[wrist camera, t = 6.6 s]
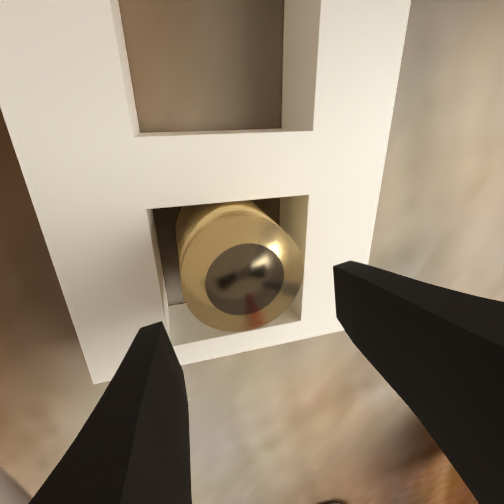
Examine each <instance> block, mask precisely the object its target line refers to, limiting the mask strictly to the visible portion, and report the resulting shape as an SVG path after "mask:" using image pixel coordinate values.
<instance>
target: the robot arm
mask: <svg viewBox="0 0 504 504" xmlns="http://www.w3.org/2000/svg"><path fill="white" fill-rule="evenodd" d="M333 276H334V291H335V306H336V318H337V319H338V321H339V322H340V324H341V325H342V327H343V328H344V330H345V331H346V333H347V334H348V336H349V337H350V339H351V340H352V342H353V343H354V344H355V345H356V347H357V348H358V349H359V350H360V351H361V352H362V354H363V355H364V356H365V357H366V358H367V359H368V361H369V362H370V363H371V364H372V365H373V366H374V367H375V369H376V370H377V371H378V372H379V373H380V374H381V375H382V376H383V378H384V379H385V380H386V381H387V382H388V383H389V384H390V386H391V387H392V388H393V389H394V390H395V391H396V392H397V394H398V395H399V396H400V397H401V398H402V399H403V400H404V402H405V403H406V404H407V405H408V406H409V407H410V409H411V410H412V411H413V412H414V414H415V415H416V416H417V417H418V419H419V420H420V421H421V423H422V424H423V425H424V427H425V428H426V429H427V431H428V432H429V433H430V435H431V436H432V438H433V439H434V440H435V442H436V443H437V444H438V446H439V447H440V448H441V450H442V451H443V453H444V454H445V455H446V457H447V458H448V460H449V461H450V462H451V464H452V465H453V467H454V468H455V470H456V471H457V472H458V474H459V475H460V477H461V478H462V480H463V481H464V482H465V484H466V485H467V487H468V488H469V490H470V491H471V492H472V494H473V495H474V497H475V498H476V500H477V501H478V503H479V504H504V302H501V301H496V300H492V299H487V298H482V297H478V296H474V295H470V294H466V293H462V292H458V291H454V290H450V289H446V288H442V287H439V286H435V285H432V284H428V283H425V282H421V281H418V280H415V279H411V278H408V277H405V276H402V275H398V274H395V273H392V272H389V271H386V270H383V269H379V268H376V267H373V266H370V265H366V264H363V263H359V262H355V261H351V260H350V261H347V262H344V263H341V264H338V265H334V266H333ZM29 504H192V498H191V471H190V441H189V414H188V401H187V394H186V387H185V381H184V374H183V370H182V368H181V365H180V363H179V360H178V358H177V356H176V353H175V351H174V348H173V346H172V344H171V341H170V339H169V336H168V334H167V332H166V329H165V327H164V324H163V322H162V321H160V322H157V323H154V324H151V325H148V326H144V327H141V328H140V329H139V331H138V333H137V334H136V336H135V338H134V340H133V342H132V343H131V345H130V347H129V349H128V351H127V353H126V355H125V357H124V358H123V360H122V362H121V364H120V366H119V368H118V369H117V371H116V373H115V375H114V376H113V378H112V380H111V382H110V383H109V385H108V387H107V389H106V390H105V392H104V394H103V396H102V397H101V399H100V401H99V402H98V404H97V405H96V407H95V409H94V410H93V412H92V413H91V415H90V416H89V418H88V420H87V421H86V423H85V424H84V426H83V428H82V429H81V431H80V432H79V434H78V435H77V437H76V439H75V440H74V442H73V443H72V444H71V446H70V447H69V449H68V450H67V452H66V453H65V455H64V456H63V457H62V459H61V460H60V462H59V463H58V464H57V466H56V467H55V469H54V470H53V471H52V473H51V474H50V475H49V477H48V478H47V480H46V481H45V482H44V484H43V485H42V486H41V488H40V489H39V490H38V492H37V493H36V494H35V496H34V497H33V498H32V500H31V501H30V502H29Z"/></svg>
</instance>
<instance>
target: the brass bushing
mask: <svg viewBox="0 0 504 504" xmlns="http://www.w3.org/2000/svg"><path fill="white" fill-rule="evenodd" d="M176 240H177V249H178V258H179V267H180V276H181V284H182V292H183V297H184V300H185V303H186V305H187V307H188V308H189V310H190V311H191V313H192V314H193V315H194V316H195V317H196V318H197V319H198V320H199V321H201V322H202V323H203V324H205V325H207V326H209V327H211V328H214V329H217V330H221V331H226V332H242V331H248V330H253V329H256V328H259V327H261V326H264V325H266V324H268V323H269V322H271V321H273V320H274V319H276V318H277V317H279V316H280V315H281V314H282V313H283V312H284V311H285V310H286V309H287V308H288V307H289V306H290V305H291V303H292V302H293V300H294V299H295V297H296V295H297V294H298V291H299V289H300V286H301V283H302V279H303V269H304V267H303V259H302V255H301V252H300V250H299V248H298V246H297V244H296V243H295V241H294V240H293V239H292V238H291V237H290V236H289V235H288V234H287V233H286V232H285V231H284V230H283V229H282V228H281V227H280V226H278V225H277V224H276V223H275V222H274V221H273V220H272V219H271V218H270V217H269V216H268V215H266V214H265V213H264V212H263V211H262V210H261V209H260V208H259V207H258V206H257V205H256V204H254V203H253V202H252V201H251V200H244V201H233V202H221V203H210V204H199V205H188V206H183V207H182V209H181V210H180V212H179V215H178V217H177V221H176Z"/></svg>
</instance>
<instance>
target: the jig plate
mask: <svg viewBox="0 0 504 504" xmlns="http://www.w3.org/2000/svg"><path fill="white" fill-rule="evenodd" d="M410 4H411V0H284V39H283V85H282V128H280V129H248V130H215V131H182V132H149V133H140V130H139V124H138V118H137V112H136V106H135V100H134V94H133V88H132V81H131V75H130V69H129V63H128V57H127V51H126V45H125V39H124V33H123V27H122V21H121V15H120V8H119V2H118V0H0V108H1V111H2V114H3V117H4V120H5V122H6V125H7V128H8V131H9V134H10V137H11V140H12V143H13V146H14V149H15V152H16V155H17V158H18V161H19V164H20V167H21V170H22V173H23V176H24V179H25V182H26V185H27V188H28V191H29V194H30V197H31V200H32V203H33V206H34V209H35V212H36V215H37V218H38V221H39V224H40V226H41V229H42V232H43V235H44V238H45V241H46V244H47V247H48V250H49V253H50V256H51V259H52V262H53V265H54V268H55V271H56V274H57V277H58V280H59V283H60V286H61V289H62V292H63V295H64V298H65V301H66V304H67V307H68V310H69V313H70V316H71V319H72V322H73V325H74V327H75V330H76V333H77V336H78V339H79V342H80V345H81V348H82V351H83V354H84V357H85V360H86V363H87V366H88V369H89V372H90V375H91V378H92V381H93V384H97V383H102V382H106V381H111V380H112V378H113V376H114V375H115V373H116V371H117V369H118V368H119V366H120V364H121V362H122V360H123V358H124V357H125V355H126V353H127V351H128V349H129V347H130V345H131V343H132V342H133V340H134V338H135V336H136V334H137V333H138V331H139V329H140V328H141V327H144V326H148V325H151V324H154V323H157V322H160V321H162V322H163V324H164V327H165V329H166V332H167V334H168V336H169V339H170V341H171V344H172V346H173V348H174V351H175V353H176V356H177V358H178V360H179V363H180V365H185V364H190V363H194V362H199V361H204V360H208V359H213V358H218V357H222V356H227V355H232V354H236V353H241V352H245V351H250V350H255V349H259V348H264V347H269V346H273V345H278V344H283V343H287V342H292V341H296V340H301V339H306V338H310V337H315V336H320V335H324V334H329V333H334V332H338V331H343V330H344V328H343V327H342V325H341V324H340V322H339V321H338V319H337V318H336V306H335V291H334V276H333V266H334V265H338V264H341V263H344V262H347V261H350V260H351V261H355V262H359V263H363V264H366V265H368V261H369V255H370V248H371V242H372V236H373V230H374V224H375V218H376V212H377V206H378V200H379V193H380V187H381V181H382V175H383V169H384V163H385V157H386V151H387V145H388V138H389V132H390V126H391V120H392V114H393V108H394V102H395V96H396V90H397V83H398V77H399V71H400V65H401V59H402V53H403V47H404V41H405V35H406V28H407V22H408V16H409V10H410ZM277 197H280V224H279V226H280V227H281V228H282V229H283V230H284V231H285V232H286V233H287V234H288V235H289V236H290V237H291V238H292V239H293V240H294V241H295V243H296V244H297V246H298V248H299V250H300V252H301V255H302V259H303V267H304V269H303V279H302V283H301V286H300V289H299V291H298V294H297V295H296V297H295V299H294V300H293V302H292V303H291V305H290V306H289V307H288V308H287V309H286V310H285V311H284V312H283V313H282V314H281V315H280V316H279V317H277V318H276V319H274V320H273V321H271V322H269V323H268V324H266V325H264V326H261V327H259V328H256V329H253V330H248V331H242V332H226V331H221V330H217V329H214V328H211V327H209V326H207V325H205V324H203V323H202V322H201V321H199V320H198V319H197V318H196V317H195V316H194V315H193V314H192V313H191V311H190V310H189V308H188V307H187V305H186V303H183V304H177V305H171V306H168V300H167V294H166V288H165V282H164V276H163V270H162V264H161V258H160V252H159V246H158V240H157V234H156V227H155V221H154V215H153V209H154V208H166V207H177V206H188V205H199V204H210V203H221V202H233V201H244V200H255V199H266V198H277Z"/></svg>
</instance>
